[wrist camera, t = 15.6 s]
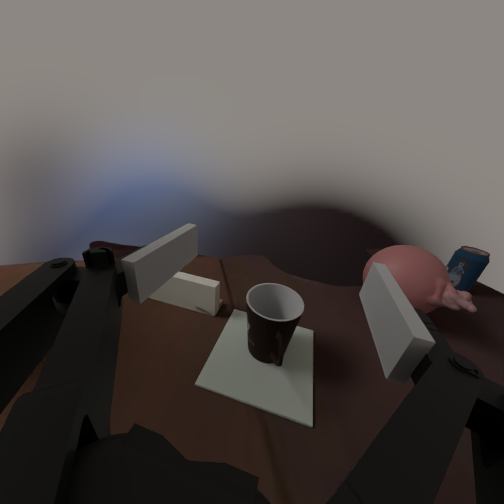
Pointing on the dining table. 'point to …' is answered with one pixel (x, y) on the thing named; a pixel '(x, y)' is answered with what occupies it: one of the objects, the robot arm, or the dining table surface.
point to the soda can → (466, 267)
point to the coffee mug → (271, 320)
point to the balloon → (421, 278)
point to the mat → (262, 373)
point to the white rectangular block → (191, 293)
